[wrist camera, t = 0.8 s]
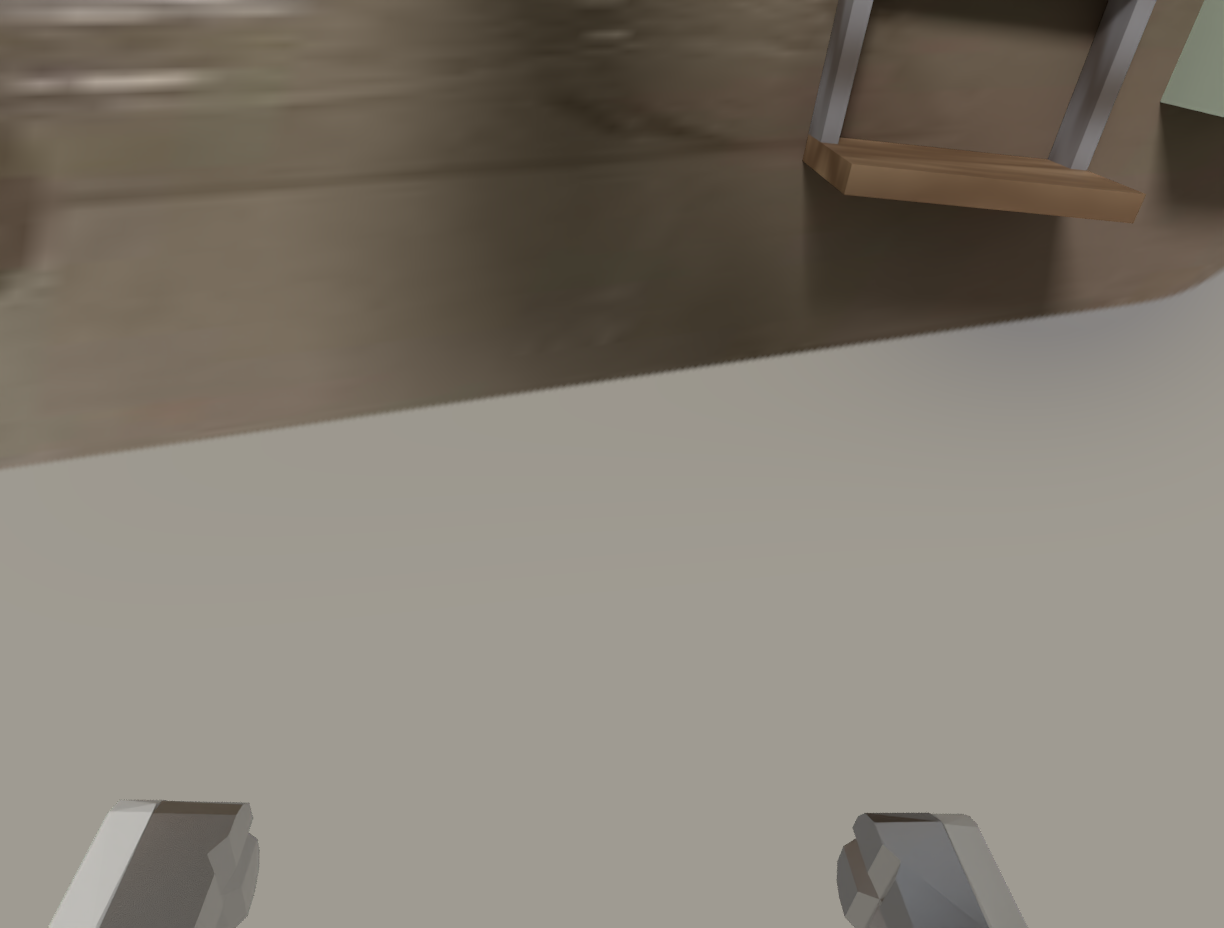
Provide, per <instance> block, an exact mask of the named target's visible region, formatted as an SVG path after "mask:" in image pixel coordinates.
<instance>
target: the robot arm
mask: <svg viewBox="0 0 1224 928" xmlns="http://www.w3.org/2000/svg"><path fill="white" fill-rule="evenodd" d="M252 820H253V815H252V812H251V808H250V804H249V803H237V802H191V801H190V802H188V801H187V802H186V801H166V800H119V801H118V802H117V803H116V805H115V806H114V807H113V808H112V809H111V810H110V811H109V812H108V813H107V815H106V817H105V819H104V821H103V823H102V825H101V826H100V828H99V830H98V832H97V834H96V836H95V838H94V840H93V842H92V844H91V846H90V848H89V850H88V851H87V853H86V855H85V857H84V859H83V861H82V863H81V865H80V867H79V869H78V871H77V872H76V875H75V877H74V878H73V880H72V882H71V884H70V886H69V888H68V890H67V892H66V894H65V896H64V897H63V899H62V901H61V903H60V905H59V907H58V909H57V911H56V913H55V915H54V917H53V919H52V921H51V923H50V924H49V926H48V928H236V927H237V926H238V925H239V924H240V923H241V922H242V921H243V920H244V919H245V918H246V917H247V916H248V912H249V909H250V906H251V903H252V899H253V896H254V892H255V888H256V882H257V876H258V871H259V851H260V850H259V845H258V840H257V838H256V837H254V836H253V835H251V834H250V833H249V829H250V826H251V823H252ZM853 830H854V833H855V836H856V839H854V840H853V841H851V842H849V843H848V844H846V845H845V846H843V849H842V851H841V854H840V856H839V859H838V863H837V886H838V892H839V898H840V902H841V905H842V909H843V912H844V916H845V918H846V919H847V920H848V921H849V922H850V923H851V924H852V925H853V926H854V927H855V928H1028V927H1027V925H1026V923H1025V921H1024V919H1023V917H1022V914H1021V912H1020V910H1019V908H1018V906H1017V904H1016V903H1015V900H1014V898H1013V896H1012V894H1011V892H1010V890H1009V888H1008V886H1007V884H1006V882H1005V880H1004V878H1003V876H1002V874H1001V872H1000V870H999V868H998V866H997V864H996V862H995V860H994V858H993V856H992V854H991V852H990V850H989V848H988V846H987V844H986V842H985V840H984V837H983V836H982V833H981V831H980V829H979V827H978V825H977V824H976V822H975V821H973V819H972V818H971V817H970V816H967V815H964V814H930V813H864V814H862V815H860V816H858V818H857V819H856V821H855V824H854V826H853Z"/></svg>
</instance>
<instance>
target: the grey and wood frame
mask: <svg viewBox="0 0 1224 928" xmlns="http://www.w3.org/2000/svg"><path fill="white" fill-rule="evenodd" d="M1155 2H1156V0H1109V1H1108V4H1107V6H1106V9H1105V11H1104V14H1103V17H1102V19H1101V22H1100V25H1099V27H1098V30H1097V32H1096V35H1095V38H1094V40H1093V43H1092V45H1091V48H1090V51H1089V53H1088V56H1087V59H1086V61H1085V64H1084V66H1083V69H1082V72H1081V74H1080V77H1079V79H1078V82H1077V85H1076V87H1075V90H1074V93H1073V95H1072V98H1071V100H1070V103H1069V106H1068V108H1067V111H1066V113H1065V116H1064V119H1063V121H1062V124H1061V127H1060V129H1059V132H1058V134H1057V137H1056V140H1055V142H1054V145H1053V147H1052V150H1051V153H1050V155H1049V158H1048V159H1039V158H1029V157H1020V156H1011V155H1001V154H992V153H983V152H973V151H964V150H955V149H945V148H936V147H927V146H917V145H908V144H899V143H889V142H880V141H871V140H861V139H852V138H843V137H840V134H841V130H842V126H843V122H844V118H845V113H846V109H847V105H848V101H849V97H850V93H851V89H852V85H853V81H854V77H855V73H856V69H857V65H858V61H859V56H860V52H861V48H862V44H863V40H864V36H865V32H866V28H867V24H868V20H869V16H870V12H871V8H872V3H873V0H839V1H838V6H837V10H836V14H835V19H834V23H833V28H832V32H831V37H830V41H829V45H828V50H827V54H826V59H825V63H824V68H823V72H822V77H821V81H820V85H819V90H818V94H817V99H816V103H815V108H814V112H813V116H812V121H811V125H810V130H809V134H808V139H807V143H806V148H805V152H804V156H803V161H804V162H805V163H806V164H807V165H808V166H810V167H811V168H812V169H813V170H815V171H816V172H817V173H818V174H819V175H821V176H822V177H823V178H824V179H826V180H827V181H828V182H829V183H830V184H832V185H833V186H834V187H835V188H837V189H838V190H839V191H840V192H841V193H843V194H844V195H852V196H862V197H872V198H882V199H893V200H903V201H913V202H923V203H933V204H943V205H953V206H963V207H973V208H984V209H994V210H1004V211H1014V212H1024V213H1034V214H1044V215H1054V216H1064V217H1075V218H1085V219H1095V220H1105V221H1115V222H1125V223H1134V220H1135V218H1136V216H1137V214H1138V212H1139V209H1140V207H1141V205H1142V203H1143V201H1144V198H1145V196H1146V194H1144V193H1141V192H1139V191H1136V190H1134V189H1131V188H1129V187H1126V186H1124V185H1121V184H1119V183H1116V182H1114V181H1111V180H1109V179H1107V178H1104V177H1102V176H1099V175H1097V174H1094V173H1092V172H1089V171H1087V168H1088V166H1089V163H1090V161H1091V159H1092V156H1093V154H1094V151H1095V149H1096V146H1097V144H1098V141H1099V139H1100V137H1101V134H1102V132H1103V129H1104V127H1105V124H1106V122H1107V120H1108V117H1109V115H1110V112H1111V110H1112V107H1113V105H1114V102H1115V100H1116V98H1117V95H1118V93H1119V90H1120V88H1121V85H1122V83H1123V80H1124V78H1125V76H1126V73H1127V71H1128V68H1129V66H1130V63H1131V61H1132V59H1133V56H1134V54H1135V51H1136V49H1137V46H1138V44H1139V41H1140V39H1141V37H1142V34H1143V32H1144V29H1145V27H1146V24H1147V22H1148V19H1149V17H1150V15H1151V12H1152V10H1153V7H1154V5H1155Z"/></svg>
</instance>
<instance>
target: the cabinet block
mask: <svg viewBox="0 0 1224 928" xmlns="http://www.w3.org/2000/svg"><path fill="white" fill-rule="evenodd" d="M1160 102H1162V103H1166V104H1170V105H1175V106H1179V107H1183V108H1187V109H1191V110H1196V111H1200V112H1204V113H1208V114H1212V115H1216V116H1221V117H1224V0H1205V1H1204V3H1203V5H1202V7H1201V10H1200V12H1199V14H1198V17H1197V19H1196V21H1195V23H1194V26H1193V28H1192V30H1191V33H1190V35H1189V37H1188V39H1187V42H1186V44H1185V46H1184V49H1183V51H1182V53H1181V55H1180V58H1179V60H1178V62H1177V65H1176V67H1175V69H1174V71H1173V74H1172V76H1171V78H1170V80H1169V83H1168V85H1167V87H1166V90H1165V92H1164V94H1163V96H1162V99H1161V101H1160Z"/></svg>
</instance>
